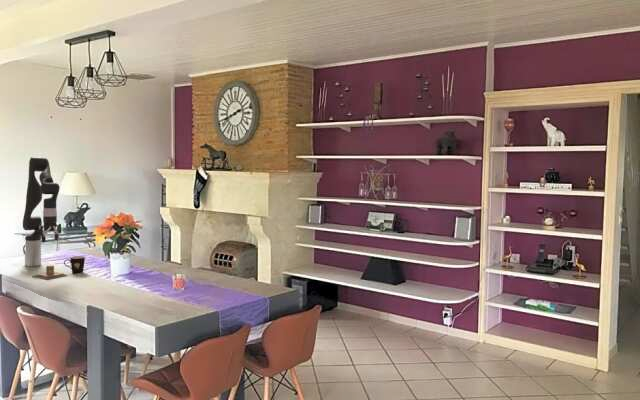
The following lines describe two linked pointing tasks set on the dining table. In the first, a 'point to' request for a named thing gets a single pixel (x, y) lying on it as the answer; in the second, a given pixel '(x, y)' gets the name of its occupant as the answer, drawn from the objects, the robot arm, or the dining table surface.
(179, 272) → the dining table surface
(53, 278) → the mat
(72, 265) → the coffee mug
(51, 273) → the lid
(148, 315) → the dining table surface
